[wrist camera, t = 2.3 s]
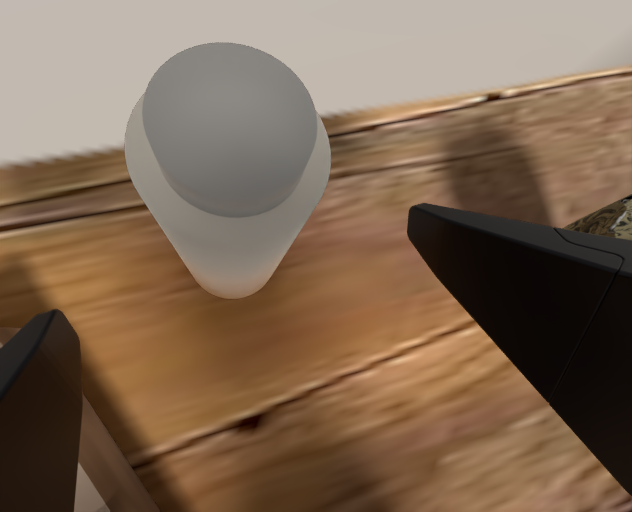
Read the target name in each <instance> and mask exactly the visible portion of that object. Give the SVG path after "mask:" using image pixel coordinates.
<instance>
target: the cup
mask: <svg viewBox="0 0 632 512" xmlns="http://www.w3.org/2000/svg"><path fill="white" fill-rule="evenodd" d="M563 229H567V230H572V231H578V232H584V233H589V234H595V235H602V236H608V237H615V238H622V239H629V240H632V194H631V195H629V196H627V197H625V198H623V199H621V200H619V201H617V202H614V203H612V204H610V205H608V206H606V207H604V208H602V209H600V210H598V211H596V212H593V213H591V214H589V215H587V216H585V217H583V218H581V219H579V220H577V221H575V222H573V223H571V224H570V225H568V226H566V227H564V228H563Z"/></svg>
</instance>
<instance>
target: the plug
mask: <svg viewBox="0 0 632 512" xmlns="http://www.w3.org/2000/svg"><path fill="white" fill-rule="evenodd" d="M124 149H125V160H126V164H127V168H128V172H129V175H130V177H131V180H132V182H133V185H134V187H135V188H136V190H137V192H138V193H139V195H140V197H141V198H142V200H143V201H144V203H145V204H146V206H147V207H148V209H149V210H150V212H151V214H152V215H153V217H154V218H155V220H156V221H157V223H158V224H159V226H160V227H161V229H162V230H163V232H164V233H165V235H166V236H167V238H168V239H169V241H170V242H171V244H172V245H173V247H174V248H175V250H176V251H177V253H178V255H179V256H180V258H181V259H182V261H183V262H184V264H185V265H186V267H187V268H188V270H189V271H190V273H191V274H192V276H193V277H194V279H195V280H196V282H197V283H198V284H199V285H200V286H201V287H202V288H203V289H204V290H206V291H207V292H208V293H210V294H212V295H214V296H217V297H220V298H225V299H239V298H244V297H247V296H250V295H252V294H254V293H255V292H257V291H259V290H260V289H261V288H262V287H263V286H264V285H265V284H266V283H267V282H268V280H269V279H270V277H271V276H272V274H273V273H274V271H275V270H276V268H277V266H278V265H279V263H280V262H281V260H282V259H283V257H284V256H285V254H286V252H287V251H288V249H289V248H290V246H291V245H292V243H293V242H294V240H295V238H296V237H297V235H298V234H299V232H300V231H301V229H302V228H303V226H304V224H305V223H306V221H307V220H308V218H309V217H310V215H311V214H312V212H313V210H314V209H315V207H316V206H317V204H318V202H319V201H320V199H321V197H322V195H323V193H324V191H325V188H326V186H327V183H328V179H329V174H330V167H331V151H330V144H329V139H328V136H327V133H326V130H325V127H324V125H323V122H322V120H321V118H320V116H319V115H318V113H317V112H316V110H315V108H314V104H313V101H312V99H311V97H310V95H309V93H308V91H307V89H306V88H305V86H304V84H303V83H302V82H301V80H300V79H299V78H298V77H297V76H296V74H295V73H293V71H291V69H289V68H288V67H287V66H286V65H285V64H283V63H282V62H281V61H279V60H278V59H276V58H274V57H273V56H271V55H269V54H267V53H265V52H263V51H261V50H258V49H255V48H252V47H249V46H245V45H241V44H233V43H209V44H203V45H198V46H195V47H192V48H189V49H186V50H184V51H182V52H180V53H178V54H176V55H175V56H173V57H172V58H170V59H169V60H168V61H166V62H165V63H164V64H163V65H162V66H161V67H160V68H159V69H158V71H157V72H156V73H155V74H154V76H153V78H152V79H151V81H150V82H149V84H148V87H147V89H146V92H145V93H144V94H143V96H142V97H141V98H140V99H139V101H138V102H137V104H136V106H135V108H134V109H133V111H132V114H131V116H130V118H129V121H128V125H127V129H126V133H125V145H124Z"/></svg>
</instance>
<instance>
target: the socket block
mask: <svg viewBox="0 0 632 512" xmlns="http://www.w3.org/2000/svg"><path fill="white" fill-rule="evenodd" d="M20 329H21V328H14V327H0V348H1V347H2V346H3V345H4V344H5V343H6V342H7V341H9V340H10V339H11V338H12V337H13V336H14V335H15V334H16V333H17V332H18V331H19V330H20ZM74 512H161V511H160V510H159V508H158V507H157V505H156V504H155V502H154V501H153V499H152V498H151V496H150V495H149V493H148V491H147V490H146V488H145V487H144V485H143V484H142V482H141V481H140V479H139V478H138V476H137V475H136V473H135V472H134V470H133V469H132V467H131V466H130V464H129V463H128V461H127V460H126V458H125V457H124V455H123V454H122V452H121V450H120V449H119V447H118V446H117V444H116V443H115V441H114V440H113V438H112V437H111V435H110V434H109V432H108V431H107V429H106V428H105V426H104V425H103V423H102V422H101V420H100V419H99V417H98V416H97V414H96V413H95V411H94V409H93V408H92V406H91V405H90V403H89V402H88V400H87V399H86V397H85V396H84V394H83V412H82V424H81V436H80V448H79V459H78V471H77V483H76V494H75V506H74Z"/></svg>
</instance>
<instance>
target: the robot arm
mask: <svg viewBox="0 0 632 512" xmlns="http://www.w3.org/2000/svg"><path fill="white" fill-rule="evenodd" d="M407 234H408V237H409V239H410V241H411V242H412V244H413V245H414V247H415V248H416V249H417V251H418V252H419V254H420V255H421V256H422V258H423V259H424V261H425V262H426V263H427V265H428V266H429V268H430V269H431V271H432V272H433V273H434V274H435V276H436V277H437V278H438V279H439V281H440V282H441V283H442V284H443V285H444V286H445V288H446V289H447V290H448V291H449V292H450V293H451V294H452V295H453V297H454V298H455V299H456V300H457V301H458V302H459V303H460V304H461V306H462V307H463V308H464V309H465V310H466V311H467V312H468V313H469V315H470V316H471V317H472V318H473V319H474V320H475V321H476V322H477V324H478V325H479V326H480V327H481V328H482V329H483V330H484V331H485V333H486V334H487V335H488V336H489V337H490V338H491V339H492V340H493V342H494V343H495V344H496V345H497V346H498V347H499V348H500V349H501V351H502V352H503V353H504V354H505V355H506V356H507V357H508V358H509V360H510V361H511V362H512V363H513V364H514V365H515V366H516V367H517V369H518V370H519V371H520V372H521V373H522V374H523V375H524V376H525V378H526V379H527V380H528V381H529V382H530V383H531V384H532V385H533V387H534V388H535V389H536V390H537V391H538V392H539V393H540V394H541V396H542V397H543V398H544V399H545V400H546V401H547V402H548V403H549V405H550V406H551V407H552V408H553V409H554V410H555V412H556V413H557V414H558V415H559V416H560V417H561V418H562V419H563V421H564V422H565V423H566V424H567V425H568V426H569V427H570V428H571V430H572V431H573V432H574V433H575V434H576V435H577V436H578V437H579V439H580V440H581V441H582V442H583V443H584V444H585V445H586V446H587V448H588V449H589V450H590V451H591V452H592V453H593V454H594V456H595V457H596V458H597V459H598V460H599V461H600V462H601V463H602V465H603V466H604V467H605V468H606V469H607V470H608V471H609V472H610V474H611V475H612V476H613V477H614V478H615V479H616V480H617V481H618V483H619V484H620V485H621V486H622V487H623V488H624V489H625V490H626V491H627V492H628V493H629V494H630V495H631V496H632V240H629V239H622V238H615V237H608V236H602V235H595V234H589V233H584V232H578V231H572V230H567V229H561V228H556V227H554V228H552V227H550V226H545V225H540V224H534V223H529V222H523V221H518V220H513V219H507V218H502V217H497V216H491V215H486V214H481V213H475V212H470V211H465V210H459V209H454V208H448V207H443V206H438V205H432V204H427V203H421V204H418V205H414V206H412V207H411V208H410V210H409V215H408V227H407ZM82 412H83V389H82V370H81V352H80V341H79V337H78V335H77V333H76V332H75V330H74V329H73V327H72V326H71V324H70V323H69V321H68V320H67V318H66V317H65V315H64V314H63V313H62V312H61V311H60V310H58V309H53V310H50V311H46V312H43V313H39V314H37V315H35V316H34V317H33V318H32V319H31V320H30V321H29V322H28V323H27V324H26V325H24V326H23V327H22V328H21V329H20V330H19V331H18V332H17V333H16V334H15V335H14V336H13V337H12V338H11V339H10V340H9V341H7V342H6V343H5V344H4V345H3V346H2V347H1V348H0V512H74V506H75V494H76V483H77V471H78V459H79V448H80V436H81V424H82Z"/></svg>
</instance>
